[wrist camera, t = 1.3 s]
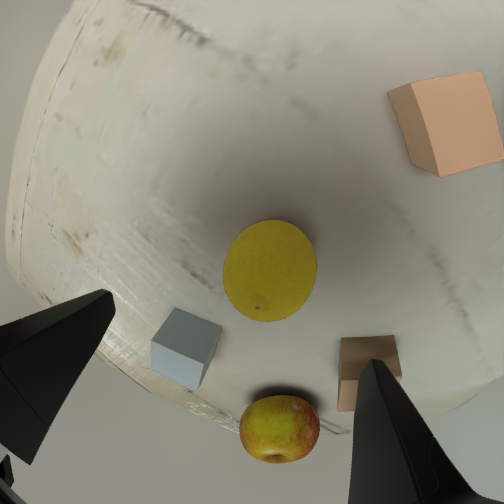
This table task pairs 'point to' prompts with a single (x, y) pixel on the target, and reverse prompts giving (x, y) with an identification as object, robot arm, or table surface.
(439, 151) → the terracotta block
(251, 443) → the fruit
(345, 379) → the walnut block
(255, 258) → the lemon
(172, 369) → the slate block
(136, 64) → the table surface
